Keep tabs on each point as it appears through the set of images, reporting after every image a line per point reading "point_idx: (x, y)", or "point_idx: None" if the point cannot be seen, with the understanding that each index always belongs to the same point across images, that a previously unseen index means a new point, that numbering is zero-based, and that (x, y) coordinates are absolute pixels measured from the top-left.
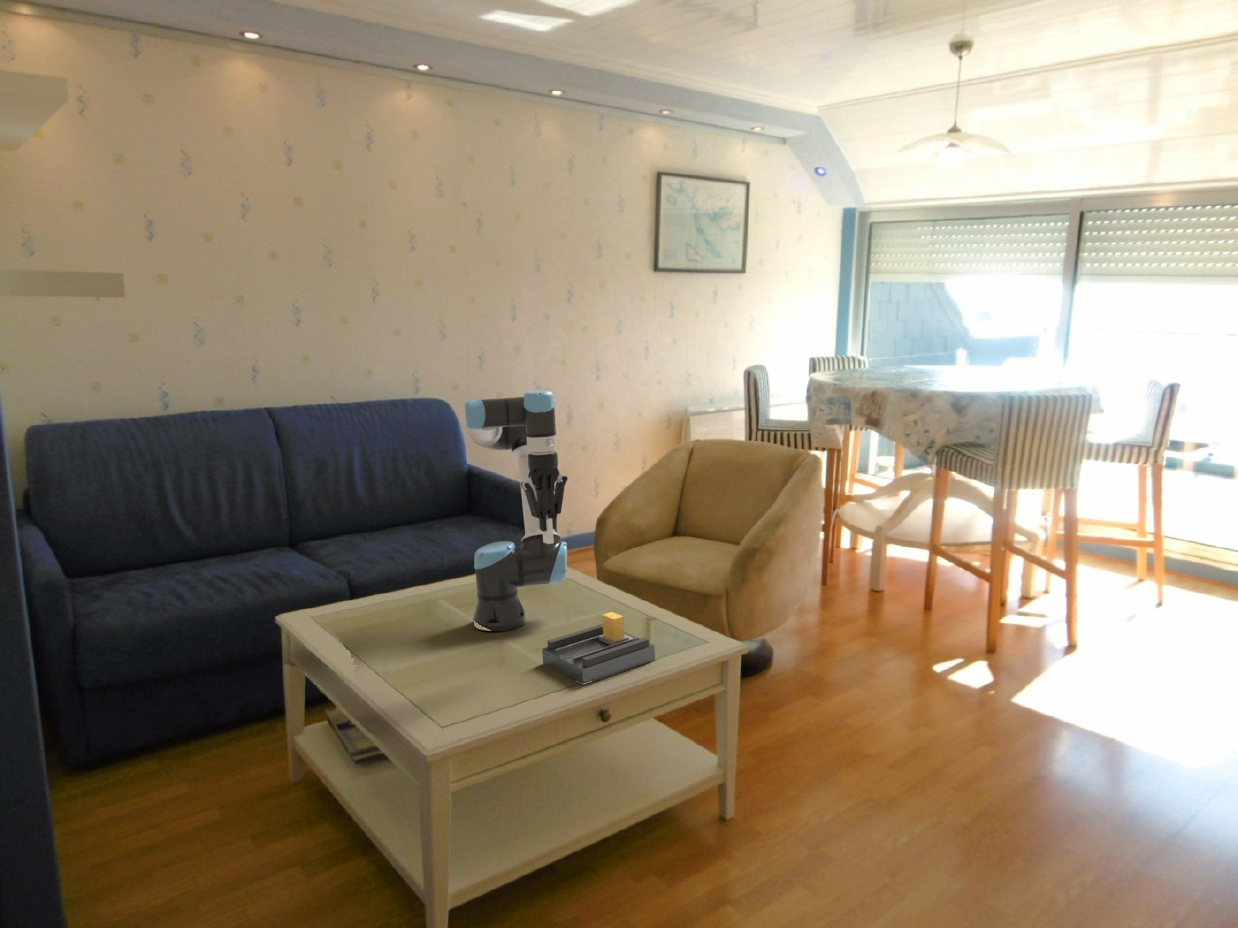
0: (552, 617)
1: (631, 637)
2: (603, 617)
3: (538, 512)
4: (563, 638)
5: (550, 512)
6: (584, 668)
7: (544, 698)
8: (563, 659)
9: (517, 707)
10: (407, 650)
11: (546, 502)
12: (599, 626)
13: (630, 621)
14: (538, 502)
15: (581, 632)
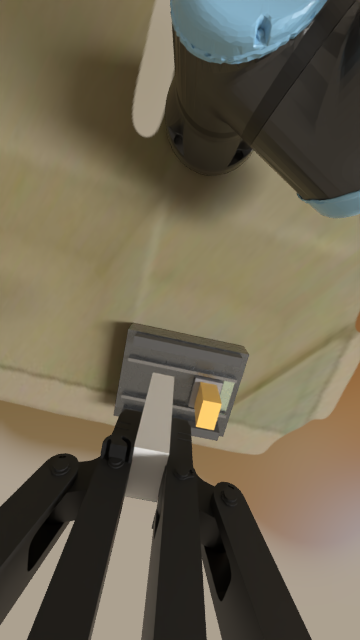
0: (284, 189)
1: (228, 401)
2: (202, 400)
3: (42, 542)
4: (155, 348)
5: (153, 530)
6: (117, 415)
7: (70, 390)
8: (120, 377)
9: (36, 382)
10: (28, 80)
11: (155, 586)
12: (221, 359)
13: (323, 315)
14: (47, 603)
15: (188, 354)
